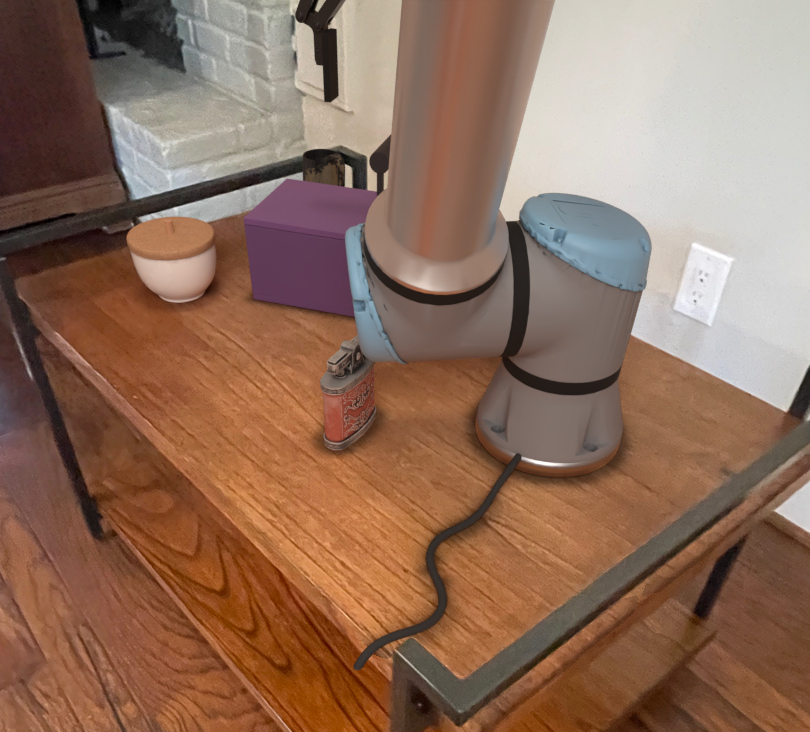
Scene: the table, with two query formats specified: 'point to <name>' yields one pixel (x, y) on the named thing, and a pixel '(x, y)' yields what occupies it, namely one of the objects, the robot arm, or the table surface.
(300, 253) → the purple box base
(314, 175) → the mug
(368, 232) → the robot arm
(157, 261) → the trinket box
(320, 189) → the lid
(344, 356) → the lighter
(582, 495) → the table surface
